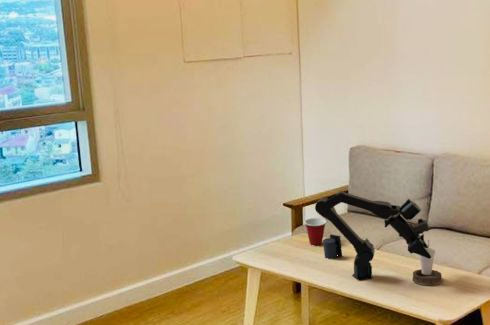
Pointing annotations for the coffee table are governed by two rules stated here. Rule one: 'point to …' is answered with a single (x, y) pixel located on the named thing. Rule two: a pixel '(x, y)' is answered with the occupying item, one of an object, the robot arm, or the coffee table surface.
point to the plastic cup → (315, 230)
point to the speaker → (332, 246)
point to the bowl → (427, 278)
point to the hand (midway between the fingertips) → (430, 255)
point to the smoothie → (427, 261)
